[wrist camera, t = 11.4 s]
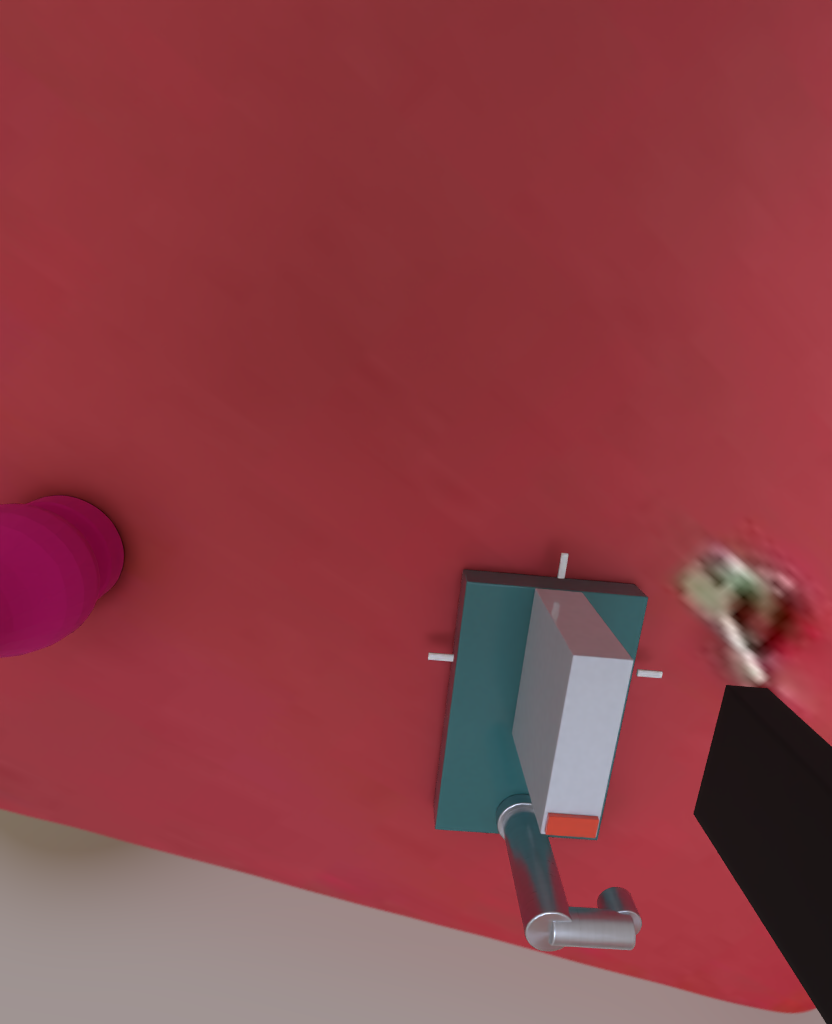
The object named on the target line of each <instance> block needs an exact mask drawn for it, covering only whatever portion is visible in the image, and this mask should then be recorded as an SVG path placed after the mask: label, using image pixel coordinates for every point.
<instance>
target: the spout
mask: <svg viewBox="0 0 832 1024" xmlns="http://www.w3.org/2000/svg"><path fill="white" fill-rule="evenodd" d="M496 823H497V828H498V831H499V833H500V835H501V836H502V837H503V838H504V839H505V841H506V846H507V851H508V855H509V860H510V865H511V870H512V874H513V879H514V884H515V889H516V893H517V898H518V903H519V908H520V912H521V917H522V922H523V927H524V931H525V936H526V939H527V941H528V942H529V943H530V944H531V945H532V946H533V947H534V948H536V949H538V950H542V951H555V950H559V949H561V948H563V947H565V946H570V947H587V948H604V949H621V950H632V949H633V948H634V946H635V939H636V936H635V935H636V934H637V933H638V932H639V931H640V929H641V926H642V921H641V918H640V915H639V913H638V910H637V908H636V906H635V903H634V901H633V899H632V896H631V894H630V893H629V892H628V891H627V890H626V889H624V888H620V887H612V888H608V889H606V890H604V891H603V892H602V893H601V894H600V895H599V897H598V900H597V906H598V908H584V907H569V905H568V902H567V899H566V895H565V892H564V889H563V885H562V882H561V879H560V875H559V872H558V869H557V865H556V862H555V859H554V855H553V852H552V849H551V845H550V842H549V839H548V835H546V834H541V833H540V830H539V826H538V823H537V819H536V816H535V812H534V809H533V805H532V802H531V798H530V795H526V794H517V795H513V796H510V797H508V798H507V799H505V800H504V801H503V802H502V803H501V804H500V805H499V807H498V809H497V811H496Z"/></svg>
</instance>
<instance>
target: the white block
mask: <svg viewBox="0 0 832 1024" xmlns="http://www.w3.org/2000/svg"><path fill="white" fill-rule="evenodd" d="M632 666H633V659H632V658H631V656H630V655H629V654H628V652H627V651H626V650H625V648H624V647H623V646H622V644H621V643H620V642H619V640H618V639H617V638H616V636H615V635H614V634H613V632H612V631H611V630H610V628H609V627H608V626H607V625H606V623H605V622H604V621H603V619H602V618H601V617H600V615H599V614H598V613H597V611H596V610H595V609H594V607H593V606H592V605H591V603H590V602H589V601H588V599H587V598H586V597H585V595H584V594H583V593H582V592H571V591H560V590H549V589H538V588H536V589H535V593H534V599H533V605H532V612H531V618H530V624H529V630H528V636H527V643H526V649H525V655H524V661H523V667H522V674H521V680H520V686H519V692H518V698H517V704H516V711H515V717H514V723H513V729H512V736H513V739H514V743H515V746H516V750H517V753H518V757H519V760H520V764H521V767H522V771H523V774H524V777H525V781H526V784H527V788H528V791H529V795H530V798H531V802H532V805H533V809H534V812H535V816H536V819H537V823H538V826H539V830H540V833H541V834H546V835H558V836H572V837H586V838H596V836H597V831H598V826H599V822H600V817H601V812H602V807H603V803H604V798H605V793H606V789H607V784H608V779H609V774H610V770H611V765H612V760H613V756H614V751H615V746H616V741H617V737H618V732H619V727H620V723H621V718H622V713H623V708H624V704H625V699H626V694H627V690H628V685H629V680H630V676H631V671H632Z"/></svg>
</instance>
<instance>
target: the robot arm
mask: <svg viewBox="0 0 832 1024" xmlns="http://www.w3.org/2000/svg"><path fill="white" fill-rule="evenodd" d="M694 815H695V817H696V819H697V820H698V822H699V823H700V825H701V826H702V828H703V830H704V831H705V833H706V834H707V836H708V838H709V839H710V841H711V842H712V844H713V845H714V847H715V849H716V850H717V852H718V853H719V855H720V856H721V858H722V860H723V861H724V863H725V864H726V866H727V867H728V869H729V871H730V872H731V874H732V875H733V877H734V879H735V880H736V882H737V883H738V885H739V886H740V888H741V890H742V891H743V893H744V894H745V896H746V897H747V899H748V901H749V902H750V904H751V905H752V907H753V908H754V910H755V912H756V913H757V915H758V916H759V918H760V920H761V921H762V923H763V924H764V926H765V927H766V929H767V931H768V932H769V934H770V935H771V937H772V938H773V940H774V942H775V943H776V945H777V946H778V948H779V949H780V951H781V953H782V954H783V956H784V957H785V959H786V961H787V962H788V964H789V965H790V967H791V968H792V970H793V972H794V973H795V975H796V976H797V978H798V979H799V981H800V983H801V984H802V986H803V987H804V989H805V990H806V992H807V994H808V995H809V997H810V998H811V1000H812V1002H813V1003H814V1005H815V1006H816V1008H817V1009H818V1011H819V1012H820V1014H821V1016H822V1017H823V1019H824V1020H825V1022H826V1024H832V747H831V746H830V745H829V744H828V743H827V742H826V741H825V740H824V739H823V738H821V737H820V736H819V735H818V734H817V733H816V732H815V731H814V730H813V729H812V728H810V727H809V726H808V725H807V724H806V723H805V722H804V721H803V720H802V719H801V718H800V717H798V716H797V715H796V714H795V713H794V712H793V711H792V710H791V709H790V708H789V707H787V706H786V705H785V704H784V703H783V702H782V701H781V700H780V699H779V698H778V697H776V696H775V695H774V694H773V693H772V692H771V691H770V690H769V689H768V688H756V687H744V686H731V685H726V688H725V692H724V696H723V700H722V704H721V708H720V712H719V716H718V720H717V723H716V727H715V731H714V735H713V739H712V743H711V747H710V751H709V755H708V759H707V763H706V767H705V771H704V775H703V779H702V782H701V786H700V790H699V794H698V798H697V802H696V806H695V810H694Z"/></svg>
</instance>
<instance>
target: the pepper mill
mask: <svg viewBox="0 0 832 1024" xmlns="http://www.w3.org/2000/svg"><path fill="white" fill-rule="evenodd" d="M123 562H124V550H123V545H122V541H121V538H120V536H119V534H118V532H117V530H116V528H115V526H114V524H113V523H112V522H111V521H110V519H109V518H108V517H107V516H106V515H105V514H104V513H103V512H102V511H100V510H99V509H98V508H96V507H95V506H93V505H91V504H89V503H87V502H86V501H83V500H80V499H78V498H74V497H70V496H62V495H55V496H47V497H43V498H39V499H37V500H34V501H32V502H29V503H26V504H2V505H0V658H2V657H11V656H18V655H23V654H26V653H30V652H33V651H36V650H39V649H42V648H45V647H48V646H51V645H52V644H54V643H56V642H58V641H60V640H61V639H63V638H64V637H66V636H67V635H69V634H70V633H72V632H73V631H75V630H76V629H77V628H78V627H79V626H81V625H82V623H83V622H84V621H85V620H86V619H87V617H88V616H89V614H90V613H91V611H92V610H93V608H94V606H95V603H96V601H97V600H98V599H99V598H100V597H101V596H103V595H104V594H105V593H106V592H108V591H109V590H110V589H111V588H112V587H113V586H114V584H115V583H116V582H117V580H118V578H119V576H120V573H121V570H122V568H123Z"/></svg>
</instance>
